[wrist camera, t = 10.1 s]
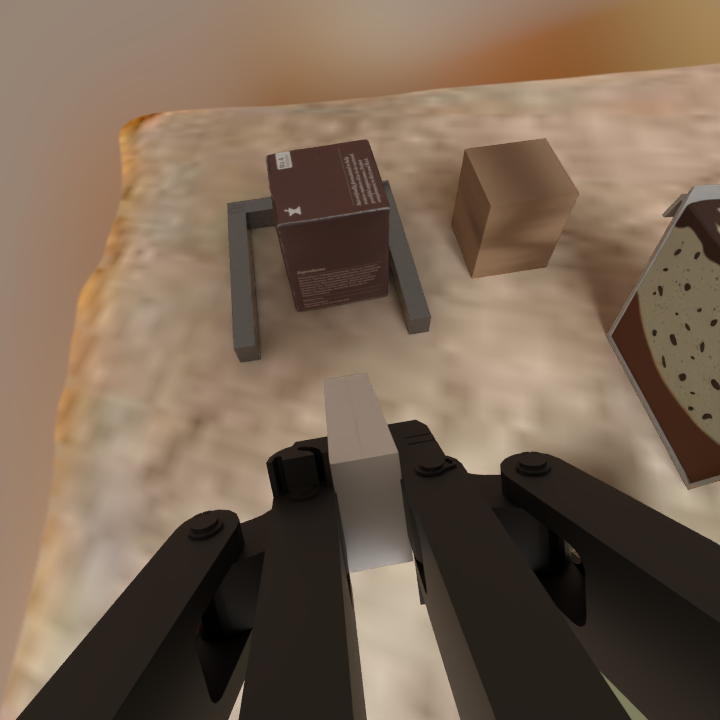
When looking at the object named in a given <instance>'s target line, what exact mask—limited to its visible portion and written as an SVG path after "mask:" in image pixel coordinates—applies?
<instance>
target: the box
mask: <svg viewBox="0 0 720 720" xmlns="http://www.w3.org/2000/svg"><path fill="white" fill-rule="evenodd" d="M266 162H267V170H268V177H269V189H270V193H271V199H272V206H273V214H274V221H275V227H276V230H277V234H278V238H279V242H280V247H281V251H282V255H283V259H284V263H285V268H286V272H287V276H288V280H289V283H290V287H291V291H292V295H293V299H294V303H295V307H296V310H297V311H305V310H312V309H318V308H324V307H328V306H333V305H339V304H344V303H350V302H356V301H362V300H368V299H374V298H379V297H384V296H387V295H388V268H389V266H388V265H389V214H390V205H389V202H388V198H387V195H386V192H385V188H384V186H383V183H382V180H381V177H380V174H379V171H378V168H377V165H376V162H375V159H374V156H373V153H372V150H371V147H370V144H369V142H368V140H358V141H352V142H345V143H339V144H333V145H327V146H321V147H314V148H307V149H300V150H293V151H286V152H280V153H276V154H272V155H268V156H266Z"/></svg>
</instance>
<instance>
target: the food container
mask: <svg viewBox="0 0 720 720" xmlns="http://www.w3.org/2000/svg"><path fill="white" fill-rule="evenodd" d="M662 215H663V217H673V219H672V221H671V222H670V224H669V226H668V228H667V229H666V231H665V233H664V235H663V236H662V238H661V240H660V242H659V243H658V245H657V247H656V249H655V250H654V252H653V254H652V256H651V257H650V259H649V261H648V263H647V264H646V266H645V268H644V270H643V272H642V273H641V275H640V277H639V279H638V280H637V282H636V284H635V286H634V287H633V289H632V291H631V293H630V294H629V296H628V298H627V300H626V301H625V303H624V305H623V307H622V308H621V310H620V312H619V314H618V315H617V317H616V319H615V321H614V322H613V324H612V326H611V328H610V329H609V331H608V333H607V335H606V337H607V339H608V341H609V342H610V344H611V346H612V348H613V350H614V352H615V354H616V356H617V357H618V359H619V361H620V363H621V365H622V367H623V369H624V371H625V372H626V374H627V376H628V378H629V380H630V382H631V384H632V386H633V387H634V389H635V391H636V393H637V395H638V397H639V399H640V400H641V402H642V404H643V406H644V408H645V410H646V412H647V414H648V415H649V417H650V419H651V421H652V423H653V425H654V427H655V429H656V430H657V432H658V434H659V436H660V438H661V440H662V442H663V444H664V445H665V447H666V449H667V451H668V453H669V455H670V457H671V458H672V460H673V462H674V464H675V466H676V468H677V470H678V472H679V473H680V475H681V477H682V479H683V481H684V483H685V485H686V487H687V488H688V490H689V489H692V488H696V487H699V486H703V485H706V484H710V483H713V482H717V481H720V184H710V185H699V186H693V187H692V188H691V190H690V191H689V192H688V194H681V195H680V197H679V198H678V199H677V200H676V201H675V202H674V203H673V204H672V205H671V206H670V207H669V208H668V209H667V210H666V211H665V212H664V213H663V214H662Z"/></svg>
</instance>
